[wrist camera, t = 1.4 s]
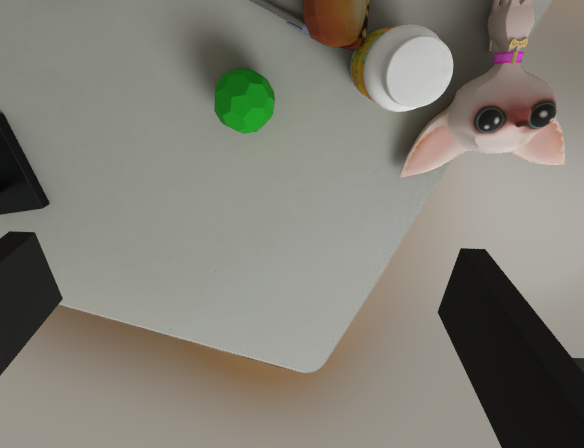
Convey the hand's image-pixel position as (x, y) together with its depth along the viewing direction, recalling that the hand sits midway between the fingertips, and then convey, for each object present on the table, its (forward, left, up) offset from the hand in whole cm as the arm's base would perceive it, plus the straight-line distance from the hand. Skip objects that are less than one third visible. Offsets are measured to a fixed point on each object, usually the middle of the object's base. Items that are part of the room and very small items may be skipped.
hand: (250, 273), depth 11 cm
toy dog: (-20, +6, -19) cm, 28 cm away
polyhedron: (0, -4, -23) cm, 23 cm away
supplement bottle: (-10, +3, -23) cm, 25 cm away
